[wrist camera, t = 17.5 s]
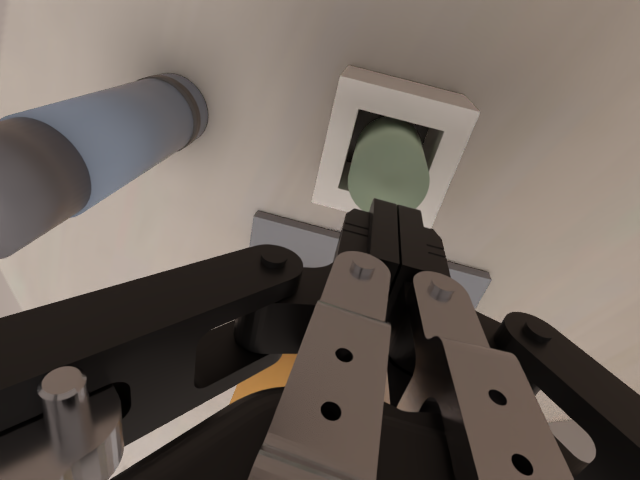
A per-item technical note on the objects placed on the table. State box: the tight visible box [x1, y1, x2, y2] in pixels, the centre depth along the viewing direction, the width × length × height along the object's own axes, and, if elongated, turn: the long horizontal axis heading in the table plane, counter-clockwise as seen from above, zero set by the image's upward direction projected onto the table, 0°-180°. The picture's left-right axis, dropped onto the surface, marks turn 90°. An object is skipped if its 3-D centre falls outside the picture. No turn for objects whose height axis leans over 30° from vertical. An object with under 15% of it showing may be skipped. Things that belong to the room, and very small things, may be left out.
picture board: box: [249, 211, 491, 309], centre depth 27 cm, size 12×15×1 cm
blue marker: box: [0, 73, 208, 259], centre depth 17 cm, size 4×4×13 cm
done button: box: [348, 117, 430, 212], centre depth 17 cm, size 3×3×4 cm
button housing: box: [311, 65, 480, 229], centre depth 19 cm, size 6×6×4 cm
